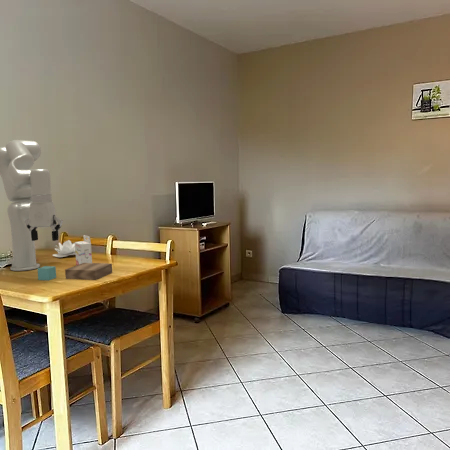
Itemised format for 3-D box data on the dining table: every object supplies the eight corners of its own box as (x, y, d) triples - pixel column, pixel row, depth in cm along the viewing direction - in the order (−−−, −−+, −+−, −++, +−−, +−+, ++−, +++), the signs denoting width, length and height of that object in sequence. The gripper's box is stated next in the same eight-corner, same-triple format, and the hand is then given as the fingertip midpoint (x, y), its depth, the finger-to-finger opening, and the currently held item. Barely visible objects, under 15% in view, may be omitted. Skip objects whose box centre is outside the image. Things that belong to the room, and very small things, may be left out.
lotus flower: (46, 258, 221) (45, 242, 220) (65, 253, 235) (64, 238, 234) (68, 259, 217) (67, 242, 216) (86, 254, 231) (86, 238, 230)
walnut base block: (65, 278, 172) (65, 269, 172) (84, 271, 186) (83, 262, 185) (96, 280, 169) (95, 270, 169) (112, 272, 183) (111, 263, 182)
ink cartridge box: (75, 266, 198) (73, 235, 197) (85, 264, 202) (83, 234, 200) (82, 268, 192) (80, 237, 190) (92, 267, 195) (91, 236, 194)
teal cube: (38, 280, 171) (37, 268, 171) (45, 277, 176) (45, 266, 175) (48, 280, 170) (48, 269, 170) (56, 278, 175) (55, 266, 174)
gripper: (17, 200, 167) (20, 241, 169) (54, 199, 164) (58, 241, 165) (29, 199, 175) (33, 239, 176) (66, 198, 171) (68, 239, 173)
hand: (45, 240), depth 171 cm, fingers open, 9 cm apart
